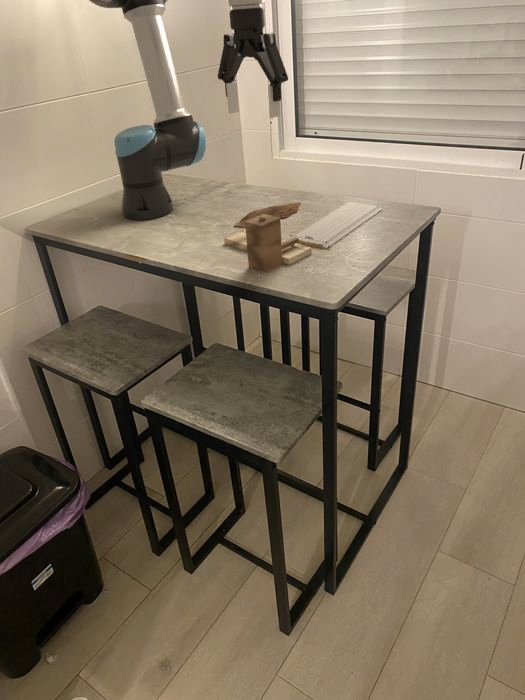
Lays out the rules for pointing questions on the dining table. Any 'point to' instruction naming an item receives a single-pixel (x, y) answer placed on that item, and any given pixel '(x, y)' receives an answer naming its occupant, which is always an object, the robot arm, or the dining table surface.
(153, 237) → the dining table surface
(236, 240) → the board
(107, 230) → the dining table surface
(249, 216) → the wooden fragment
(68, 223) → the dining table surface
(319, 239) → the baseboard molding
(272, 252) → the block
